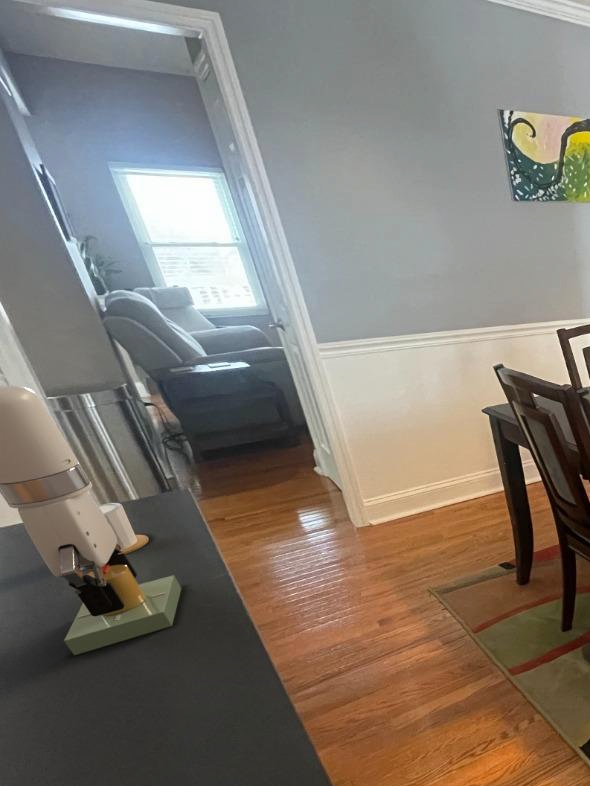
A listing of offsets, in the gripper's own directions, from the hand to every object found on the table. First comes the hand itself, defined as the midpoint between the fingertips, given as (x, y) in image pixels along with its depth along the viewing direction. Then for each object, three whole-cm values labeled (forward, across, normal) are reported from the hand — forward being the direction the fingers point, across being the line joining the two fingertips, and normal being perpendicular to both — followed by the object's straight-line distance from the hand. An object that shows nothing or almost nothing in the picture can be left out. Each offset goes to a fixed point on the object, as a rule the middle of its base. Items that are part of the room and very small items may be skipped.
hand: (116, 595), depth 84 cm
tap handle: (+2, 0, 0) cm, 2 cm away
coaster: (+4, -31, -6) cm, 32 cm away
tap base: (+4, 0, 0) cm, 4 cm away
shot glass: (+4, -31, -6) cm, 32 cm away
